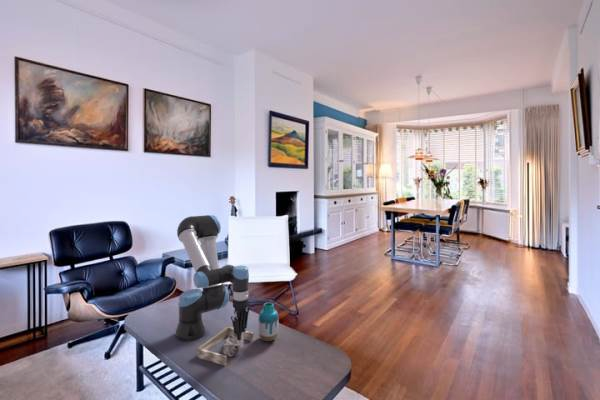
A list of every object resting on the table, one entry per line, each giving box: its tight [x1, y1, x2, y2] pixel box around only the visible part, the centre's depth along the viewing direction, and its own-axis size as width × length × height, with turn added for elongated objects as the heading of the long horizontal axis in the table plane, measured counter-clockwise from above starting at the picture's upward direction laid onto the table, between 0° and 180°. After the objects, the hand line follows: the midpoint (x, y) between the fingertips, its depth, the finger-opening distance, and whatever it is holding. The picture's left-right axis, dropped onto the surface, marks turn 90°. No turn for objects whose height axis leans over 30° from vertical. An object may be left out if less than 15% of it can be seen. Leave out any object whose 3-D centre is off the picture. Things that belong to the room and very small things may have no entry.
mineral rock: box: [222, 335, 240, 358], centre depth 149 cm, size 15×8×4 cm, turn 174°
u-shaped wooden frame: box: [196, 325, 254, 367], centre depth 150 cm, size 16×24×4 cm
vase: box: [258, 301, 279, 342], centre depth 159 cm, size 11×11×19 cm
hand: (240, 345), depth 147 cm, fingers closed
